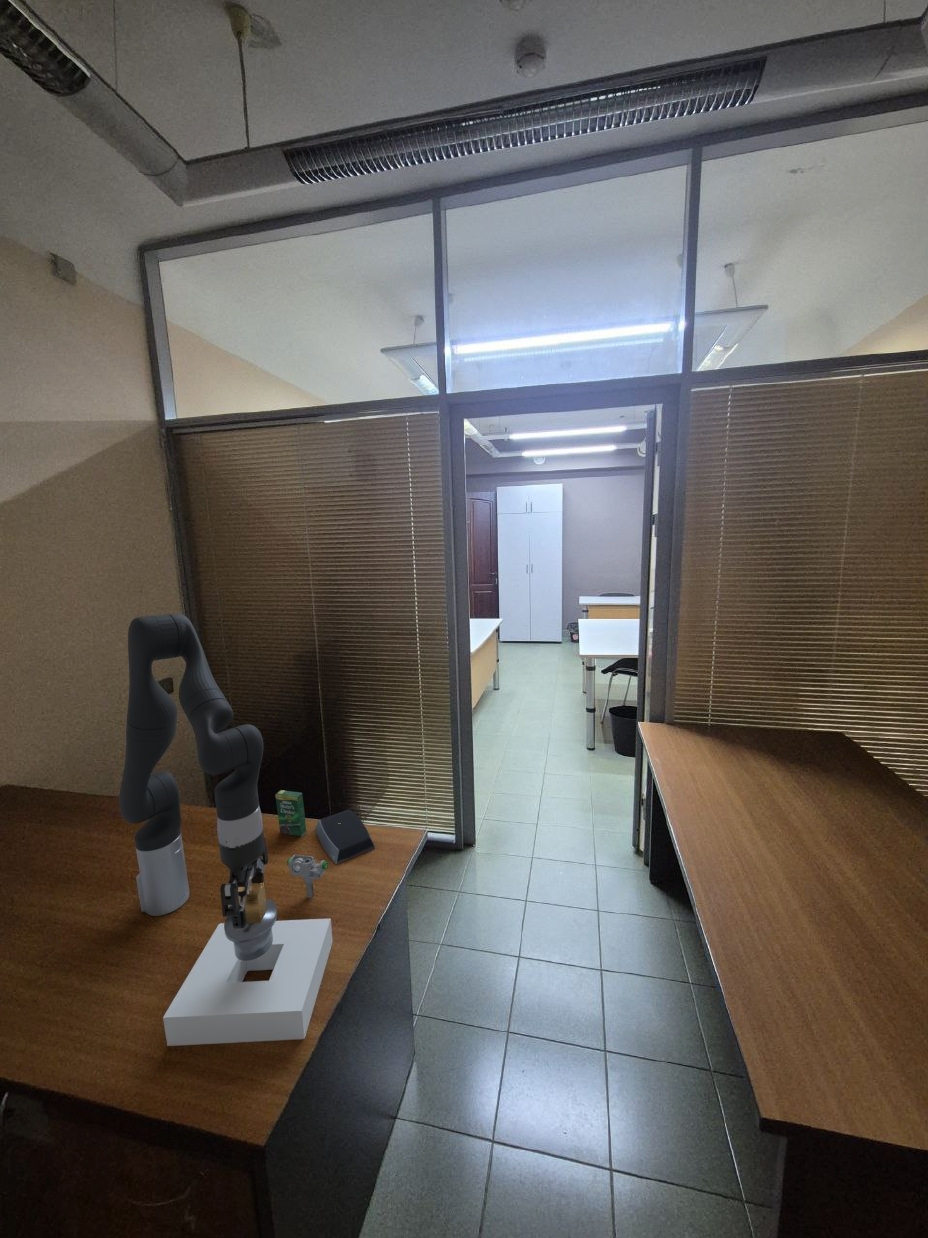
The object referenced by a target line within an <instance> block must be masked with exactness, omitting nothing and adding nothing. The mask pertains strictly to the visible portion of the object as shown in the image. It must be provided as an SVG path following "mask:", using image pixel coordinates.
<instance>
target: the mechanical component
mask: <svg viewBox="0 0 928 1238" xmlns="http://www.w3.org/2000/svg"><path fill="white" fill-rule="evenodd" d="M286 865H288V868H289V873H290V874H291V875H292V876H293V877H301V878H303V879H302V880H303V882H304V883H305V888H306V897H307V898H308V899H312V898H313V895H314V894H315V893H314V884H313V883H314V882H313V881H314V880H315V879H316V880H319V879H321V878H322V876H323V875H324V874H325V872H326V871H327V869H328V867H329V862H327V861H326V860H324V859H323V860H321V861H320V863H317V862H316V860H315V859H314V857H313V856H312V855H302V854H293V855H292V857H288V858H287V860H286Z"/></svg>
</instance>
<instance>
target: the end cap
mask: <svg viewBox="0 0 928 1238" xmlns="http://www.w3.org/2000/svg"><path fill="white" fill-rule="evenodd" d="M264 883H265V882H264ZM264 883H252V882H251V885H250V891H249V894H248V895H247V896H246V899H245V906H244V907H245V913H246V921H247V924H246V926H245V927H244V928H233V924H232V916H227V917H225V918H226V919H225V921H224V922H223V923H224V930H225V936H226V937H227V939H228V940H230V941H232V942H234V950H235V956H236V957H237V958H238V959H239V960H243V961H249V960H253V959H256V958H258V957H260V956H262V955H263V954H264V953H266V952H267V951H268V949H269V948H270V947H271V945H272V942H273V934H272V926H273V925H274V923H275V921H277V918H278V908H277V905H276V903H275V902H274V901H273V900H271V899H268V898H267V897H266V890H265V889H266V887H264ZM238 888H239V890H238V891H243V890H244V889H245V887H238ZM240 899H241V897H240V896H239V904H240Z"/></svg>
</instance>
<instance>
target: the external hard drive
mask: <svg viewBox="0 0 928 1238" xmlns="http://www.w3.org/2000/svg"><path fill="white" fill-rule="evenodd" d="M338 823H341V824H338ZM314 828H315V833H316V836H317V838H318V840H319V842H320V844H321V846H322V848H323V850H324V851H325V853H326V855H327V856H328V857H329V858H330V860H331V861H332V862H333V863H334V864H335V865H338V864H341V863H342V862H345V861H347V860H350V859H352V858H354V857H356V856H359V855H363V854H365V853H367V852H369V851H372V850H374V849H376V845H375V844H374V843H375V842H374V841H373V839H372V837H371V835H370V833H369V830H368V829H367V828H366V826H365V824H364V822H363V821H362V820H361V819H360V818H359V816H358V815H357V814H356V813H355V812H353V811H352V810H351V809H347V810H346V809H345V810H344V811H343V810H342V811H341V812H338V813H335V814H331V815H330V816H325V817H323V818H321V819H318V820H317V823H316V825H315V827H314Z"/></svg>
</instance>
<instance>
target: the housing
mask: <svg viewBox="0 0 928 1238" xmlns="http://www.w3.org/2000/svg"><path fill="white" fill-rule="evenodd" d="M224 923H225V922H223V923H222V922H221V923H220V922H219V924H218V925H217V927H216V929H215V930H214V931H213V933H212V935H211V937H210V938H209V939H208V942H207V943H206V945H205V947H204V948H203V950H202V952H201V953H200V955H199V956H198V958H197V960H196V961H195V963H194V965H193V966H192V968H191V971H189V973H188V975H187V977H186V978H185V979H184V981H183V983H182V985H181V986H180V988H179V990H178V991H177V994H175V997H174V998H173V1000H172V1001H171V1003H170V1005H169V1007H168V1008H167V1010H166V1012H165V1013H164V1015H163V1017H162V1020H163V1026H164V1032H165V1033H164V1034H165V1038H166V1045H167V1047H176V1046H177V1047H178V1046H194V1045H197V1046H198V1045H213V1044H215V1045H216V1044H235V1043H237V1044H238V1043H253V1042H270V1041H276V1042H277V1041H291V1040H292V1041H293V1040H305V1038H306V1036H307V1032H308V1028H309V1026H310V1021H311V1018H312V1014H313V1011H314V1007H315V1004H316V1001H317V999H318V998H317V997H318V994H319V990H320V987H321V984H322V981H323V977H324V974H325V970H326V966H327V963H328V960H329V956H330V952H331V948H332V945H333V931H332V928H333V927H332V919H331V918H313V919H289V920H276V921H275V923H274V925H273V926H272V934H273V942H272V945H271V947H270V948H269V949H268V951H267V952H266V953H264V954H263V955H262V956H260V957H258V958H256V959H253V960H249V961H243V960H239V959H238V958H237V957H236V956H235V950H234V942H232V941H230V940H228V939H227V937H226V936H225V930H224ZM267 970H268V971H269V970H272V972H271V975H270V977H269V980H257V981H254V980H253V981H244V979H245V977H246V975H247V973H248V971H250V972H252V971H267Z"/></svg>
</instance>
